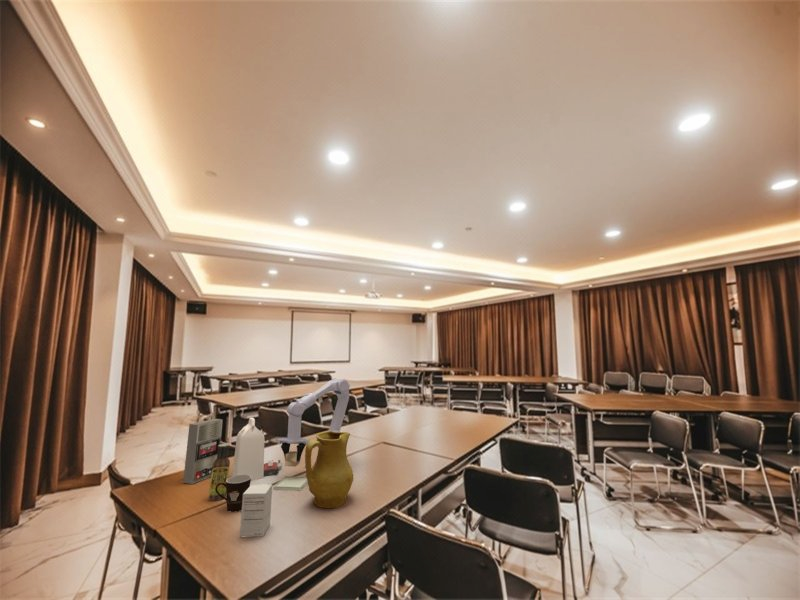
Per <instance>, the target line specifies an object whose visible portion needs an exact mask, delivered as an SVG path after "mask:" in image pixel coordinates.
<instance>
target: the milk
mask: <svg viewBox="0 0 800 600" xmlns="http://www.w3.org/2000/svg"><path fill="white" fill-rule="evenodd" d="M255 424H256V419H255V418H254V417H249V418H248V423H247V424H246V425H244V426H243V427H242V428H241V430H239V431H238V433H237V434H236V440H235V450H234V458H233V465H232V473H231V474H232V475H231V477H233V476H237V475H250V476H251V481H256V480H261V479H265V478H264V477H265V476H264V464H265V434H264V433H263V432H262V431H261V430H260V429H259V428H258V427H256V425H255Z"/></svg>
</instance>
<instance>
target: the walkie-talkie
mask: <svg viewBox="0 0 800 600" xmlns="http://www.w3.org/2000/svg"><path fill="white" fill-rule="evenodd" d="M282 467H283V462H281V460H280V459H278V460H277V462H275V461H274V460H273V459H272V460H268V462H266V463H265V462H264V477H271V476H277V475H278V474H279V471H281V470H282Z"/></svg>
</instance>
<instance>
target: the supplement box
mask: <svg viewBox="0 0 800 600" xmlns="http://www.w3.org/2000/svg"><path fill="white" fill-rule="evenodd" d="M272 495H273V484H270V483H269V484H252V485H251V484H250V487H249V488H248V489H247V490H246V491H245V492H244V493H243V500H242V510H241V515H240V528H239V529H240V531H239V538H243V537H242V536H258V537H264V535H265V534H266V532H267V530H268V528H269V527H270V526H271V517H272V514H271V513H272V512H271V511H272V499H273V497H272Z"/></svg>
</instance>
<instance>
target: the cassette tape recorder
mask: <svg viewBox="0 0 800 600" xmlns="http://www.w3.org/2000/svg"><path fill="white" fill-rule="evenodd" d="M222 430H223V419H221V418H213V419H207V420H204V421H203V420H202V421H198V422H193V423H189V427H188V432H187V433H188V435H187V445H186V453H185V462H184V471H183V478H182V483H183V484H188V485H195V484H196V483H200V482H201V481H203V480H206V479H210V478H211V474H212V469H213V463H214V461H215V460H216V458H217V455H218V445H220V444H222V433H223V431H222Z"/></svg>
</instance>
